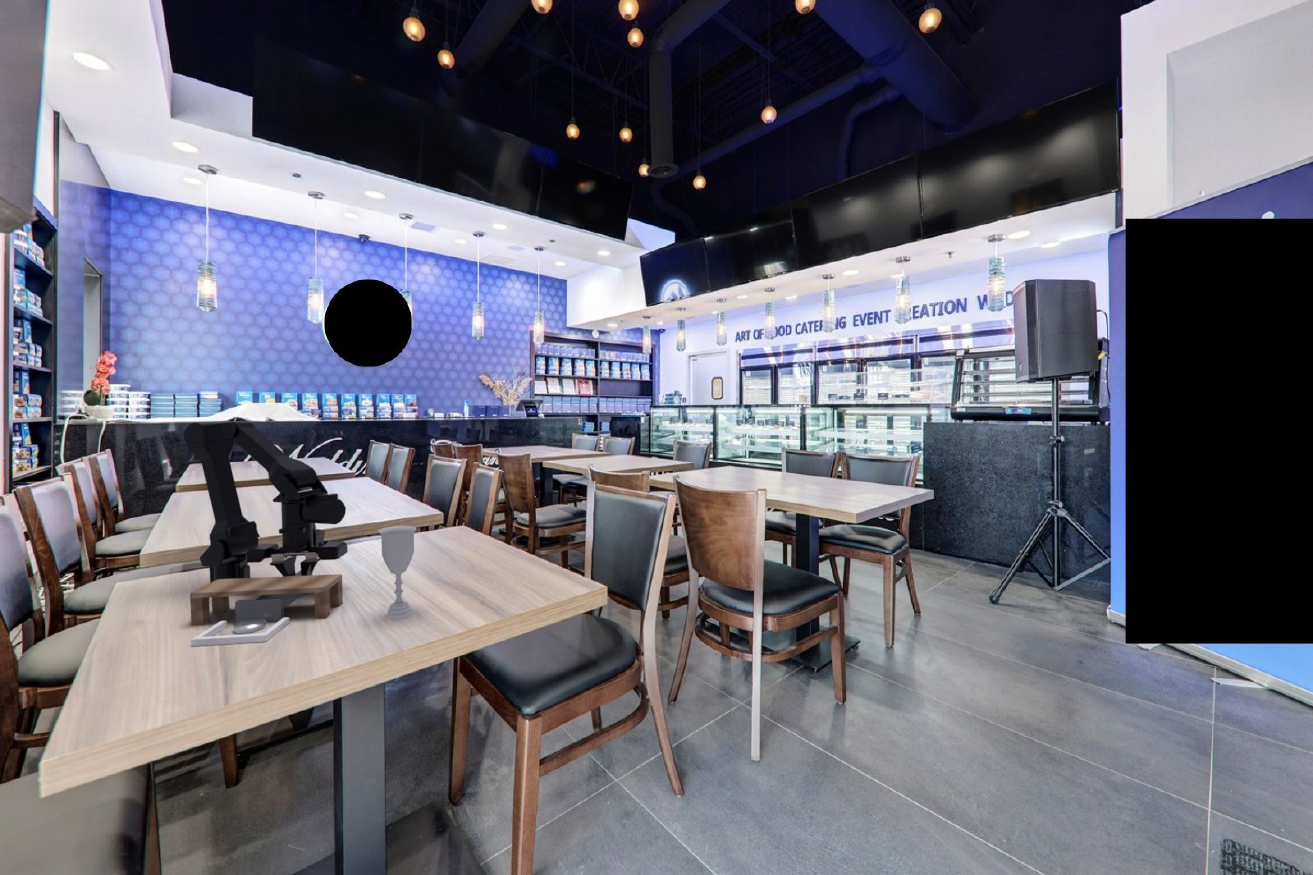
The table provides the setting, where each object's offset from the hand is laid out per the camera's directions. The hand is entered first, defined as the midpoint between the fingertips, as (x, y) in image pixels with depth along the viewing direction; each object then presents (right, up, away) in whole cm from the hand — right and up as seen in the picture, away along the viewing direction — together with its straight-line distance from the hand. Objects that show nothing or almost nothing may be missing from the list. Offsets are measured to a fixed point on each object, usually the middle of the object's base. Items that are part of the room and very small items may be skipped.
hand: (299, 588), depth 116 cm
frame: (+4, -3, -20) cm, 21 cm away
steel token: (+3, -3, -18) cm, 19 cm away
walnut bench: (+2, -2, -11) cm, 12 cm away
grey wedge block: (+1, -2, -5) cm, 6 cm away
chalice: (+28, -3, -10) cm, 30 cm away
